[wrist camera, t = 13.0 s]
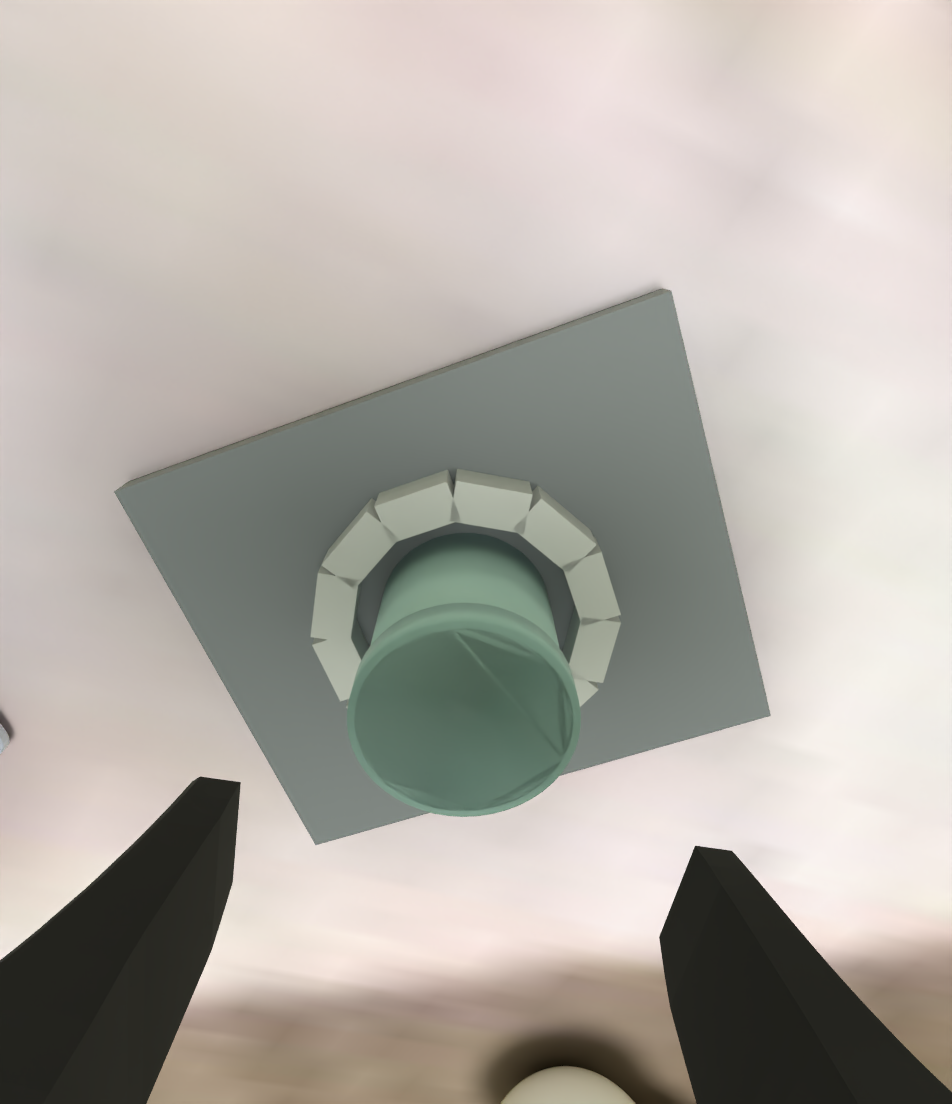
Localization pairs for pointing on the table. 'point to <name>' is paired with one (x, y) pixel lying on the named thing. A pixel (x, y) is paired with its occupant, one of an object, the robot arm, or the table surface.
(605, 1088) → the lightbulb
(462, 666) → the cup
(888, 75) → the table surface
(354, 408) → the socket board
